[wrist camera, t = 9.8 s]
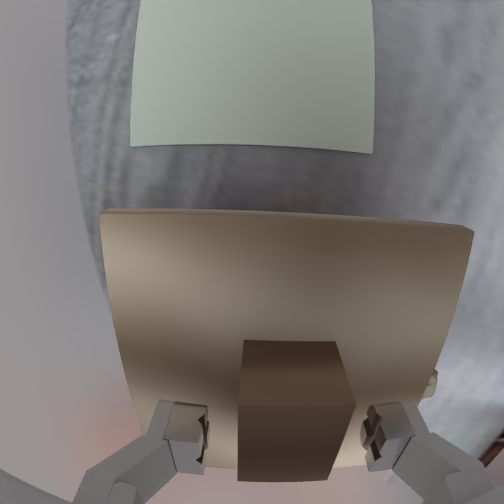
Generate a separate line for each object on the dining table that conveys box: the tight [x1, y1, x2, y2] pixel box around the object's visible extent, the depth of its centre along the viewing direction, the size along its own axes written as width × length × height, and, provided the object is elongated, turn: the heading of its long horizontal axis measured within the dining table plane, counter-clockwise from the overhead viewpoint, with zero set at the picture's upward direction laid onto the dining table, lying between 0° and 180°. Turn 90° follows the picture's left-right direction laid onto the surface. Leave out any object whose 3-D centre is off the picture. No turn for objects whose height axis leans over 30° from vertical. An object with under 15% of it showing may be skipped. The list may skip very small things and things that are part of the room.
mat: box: [130, 0, 375, 154], centre depth 19 cm, size 18×18×1 cm
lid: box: [99, 208, 474, 482], centre depth 10 cm, size 12×12×4 cm
